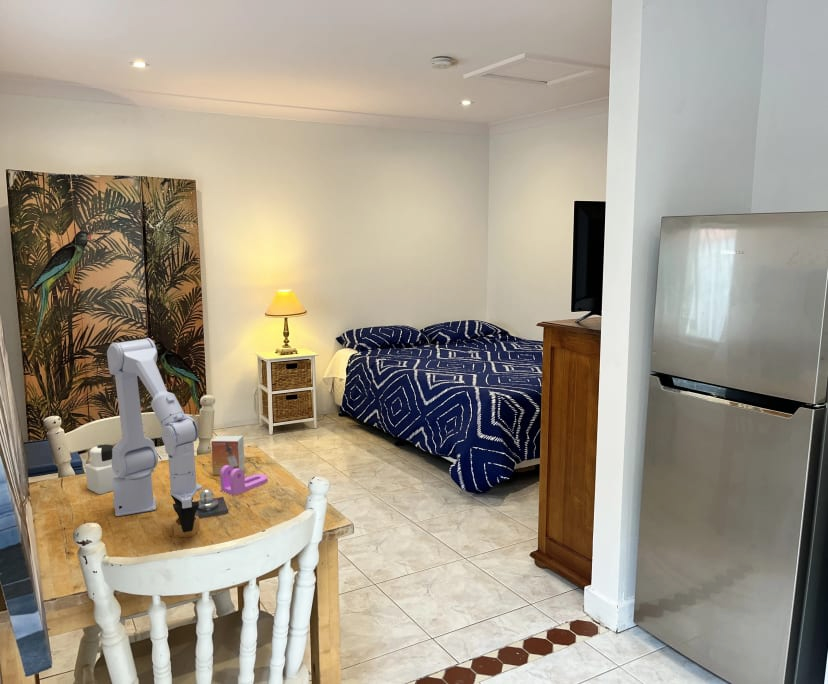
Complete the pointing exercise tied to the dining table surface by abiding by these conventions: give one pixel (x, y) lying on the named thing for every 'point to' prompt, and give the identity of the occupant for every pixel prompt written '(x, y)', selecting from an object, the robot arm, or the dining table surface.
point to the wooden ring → (179, 531)
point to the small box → (227, 453)
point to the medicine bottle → (100, 470)
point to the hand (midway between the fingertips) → (186, 525)
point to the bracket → (239, 480)
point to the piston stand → (210, 505)
